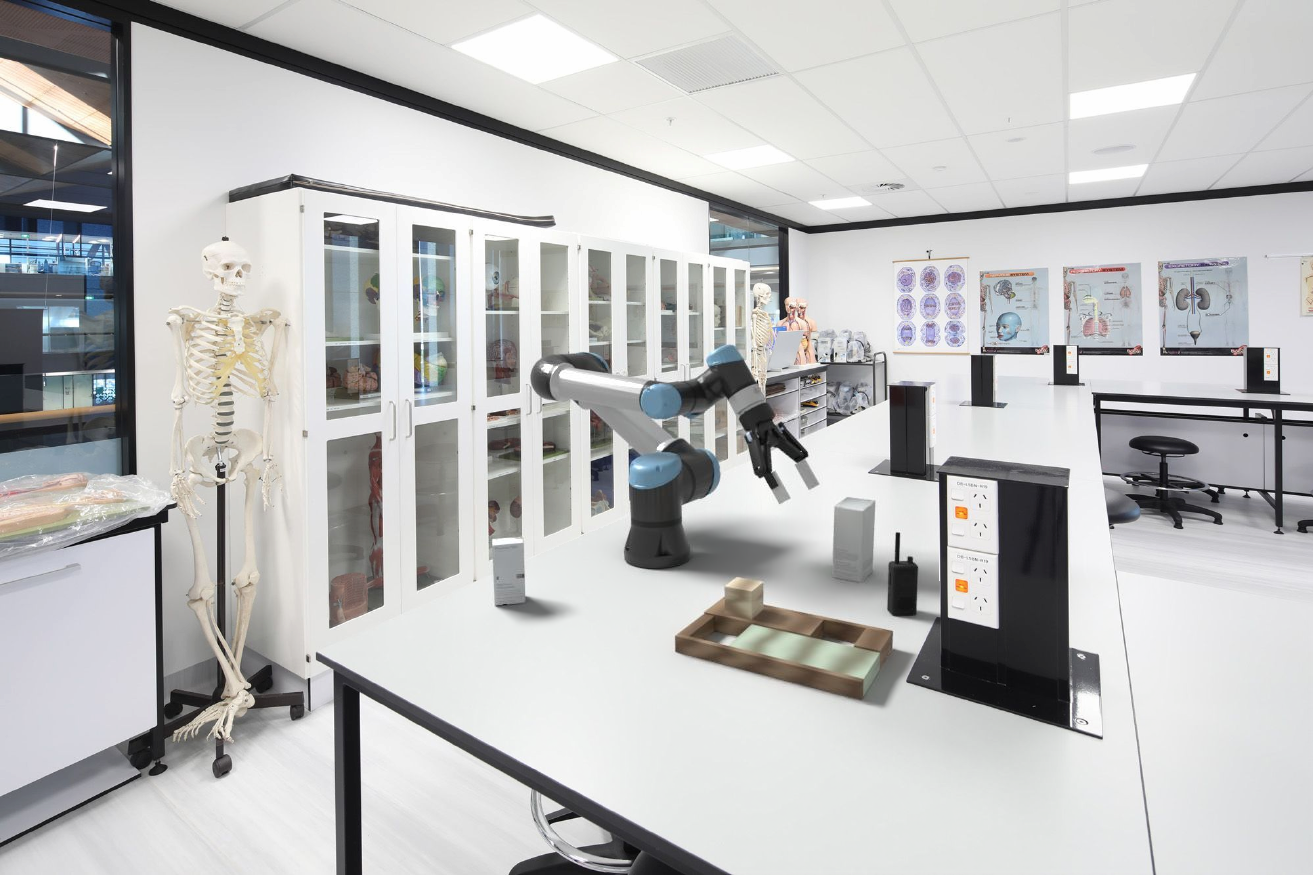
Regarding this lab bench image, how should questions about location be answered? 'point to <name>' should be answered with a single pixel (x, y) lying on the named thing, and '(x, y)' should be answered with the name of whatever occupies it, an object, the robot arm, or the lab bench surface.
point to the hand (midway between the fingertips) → (800, 494)
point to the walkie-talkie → (902, 584)
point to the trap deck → (792, 647)
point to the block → (744, 598)
